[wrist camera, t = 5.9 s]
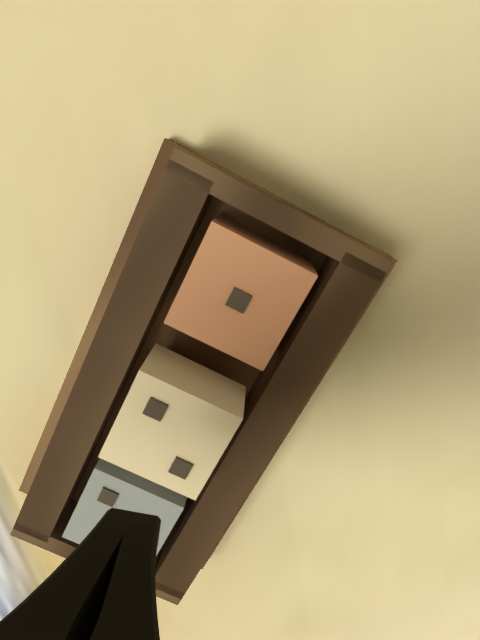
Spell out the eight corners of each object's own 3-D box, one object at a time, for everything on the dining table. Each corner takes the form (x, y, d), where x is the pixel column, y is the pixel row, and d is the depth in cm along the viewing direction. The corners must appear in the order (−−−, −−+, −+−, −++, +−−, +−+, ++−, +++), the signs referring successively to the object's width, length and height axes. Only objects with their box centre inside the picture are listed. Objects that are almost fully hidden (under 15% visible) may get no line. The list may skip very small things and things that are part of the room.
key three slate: (193, 469, 21) (183, 509, 19) (159, 529, 22) (146, 574, 20) (113, 433, 21) (93, 469, 18) (83, 496, 22) (60, 538, 20)
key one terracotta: (311, 261, 18) (318, 276, 15) (263, 345, 19) (263, 372, 17) (218, 213, 17) (211, 221, 15) (176, 303, 19) (162, 323, 16)
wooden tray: (392, 258, 18) (416, 274, 16) (203, 559, 24) (195, 612, 21) (167, 139, 17) (148, 133, 15) (24, 482, 23) (-9, 526, 20)
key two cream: (245, 386, 18) (242, 420, 16) (203, 460, 20) (194, 502, 17) (155, 343, 18) (138, 371, 16) (118, 421, 19) (96, 458, 17)
